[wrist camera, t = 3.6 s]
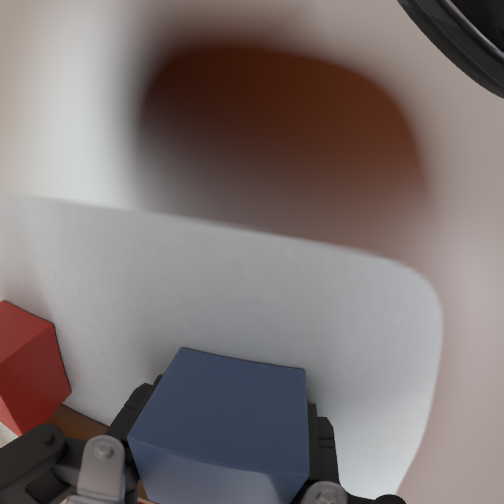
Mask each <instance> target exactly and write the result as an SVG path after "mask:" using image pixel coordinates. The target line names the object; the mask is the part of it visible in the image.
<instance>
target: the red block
mask: <svg viewBox="0 0 504 504" xmlns="http://www.w3.org/2000/svg"><path fill="white" fill-rule="evenodd" d="M70 394H71V389H70V386H69V383H68V380H67V377H66V374H65V370H64V367H63V363H62V359H61V356H60V352H59V348H58V344H57V339H56V335H55V330H54V326H53V324H52V323H50V322H47V321H45V320H43V319H41V318H39V317H37V316H34V315H32V314H30V313H28V312H26V311H24V310H22V309H20V308H18V307H16V306H14V305H12V304H10V303H9V302H7V301H5V300H3V301H1V302H0V421H1V422H2V423H3V424H4V425H5V426H7V427H8V428H9V429H10V430H11V431H13V432H14V433H15V434H16V435H18V436H19V437H20V436H21V435H23V434H24V433H26V432H28V431H29V430H31V429H32V428H34V427H36V426H37V425H39V424H43V423H45V422H46V421H47V420H48V418H49V417H50V416H51V415H52V414H53V413H54V412H55V411H56V409H57V408H58V407H59V406H60V405H61V404H62V403H63V402H64V401H65V399H66V398H67V397H68V396H69V395H70Z"/></svg>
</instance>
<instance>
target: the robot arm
mask: <svg viewBox="0 0 504 504" xmlns="http://www.w3.org/2000/svg"><path fill="white" fill-rule="evenodd" d="M437 2H438V3H439V4H440V5H441V6H442V7H443V9H444V10H445V11H446V12H447V13H448V14H449V15H450V16H451V18H452V19H453V20H454V21H455V22H456V23H457V24H458V25H459V26H460V27H461V28H462V29H463V30H464V31H465V32H466V33H467V34H468V35H469V36H470V37H471V38H472V39H473V40H474V41H475V42H476V43H477V44H478V45H480V46H481V47H482V48H483V49H484V50H485V51H486V52H488V53H489V54H490V55H491V56H492V57H494V58H495V59H496V60H497V61H499V62H500V63H502V64H503V65H504V0H437ZM163 376H164V375H159V376H158V377H157V379H156V381H155V382H154V384H153V385H150V384H147V383H144V384H143V385H141V386H139V387H138V388H136V389H135V390H134V391H133V393H132V394H131V396H130V397H129V400H127V402H126V403H125V405H124V407H123V408H122V409H121V411H120V412H119V414H118V415H117V417H116V418H115V419H114V421H113V422H112V424H111V425H110V427H109V428H108V430H107V431H106V433H105V434H104V435H98V436H95V437H93V438H91V439H90V440H81V439H76V438H71V437H67V436H64V434H63V432H62V430H61V429H60V428H59V427H57V426H56V425H53V424H49V423H43V424H39V425H37V426H36V427H34V428H32V429H31V430H29V431H28V432H26V433H24V434H23V435H21V436H20V437H18V438H17V439H15V440H13V441H12V442H10V443H8V444H7V445H5V446H4V447H2V448H0V504H60V503H61V502H62V501H63V500H65V499H66V498H67V500H66V504H137V500H138V484H137V483H138V481H139V479H140V476H139V473H138V470H137V467H136V464H135V461H134V458H133V455H132V452H131V449H130V446H129V443H128V439H127V436H128V434H129V432H130V431H131V429H132V427H133V426H134V424H135V422H136V421H137V419H138V417H139V416H140V414H141V412H142V411H143V409H144V407H145V406H146V404H147V402H148V401H149V399H150V397H151V396H152V394H153V392H154V391H155V389H156V387H157V386H158V384H159V382H160V381H161V379H162V377H163ZM307 413H308V438H309V476H308V478H307V479H306V481H305V482H304V484H303V486H302V487H301V489H300V490H299V492H298V493H297V494H296V496H295V497H294V499H293V500H292V502H291V503H290V504H406V503H405V501H404V500H403V499H402V498H400V497H399V496H396V495H391V494H387V495H382V496H380V497H378V498H376V499H375V500H372V499H366V498H361V497H357V496H353V495H351V494H349V493H348V492H346V491H345V490H344V488H343V487H342V486H341V484H340V482H339V474H338V465H337V455H336V449H335V440H334V430H333V426H332V425H331V423H330V422H329V420H328V419H327V417H317V410H316V404H314V403H307Z"/></svg>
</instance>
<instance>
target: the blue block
mask: <svg viewBox="0 0 504 504" xmlns="http://www.w3.org/2000/svg"><path fill="white" fill-rule="evenodd" d="M127 439H128V443H129V446H130V449H131V452H132V455H133V458H134V461H135V464H136V467H137V470H138V473H139V476H140V478H141V481H142V484H143V486H144V489H145V491H146V494H147V496H148V499H149V500H151V501H153V502H156V503H159V504H290V503H291V502H292V500H293V499H294V497H295V496H296V494H297V493H298V492H299V490H300V489H301V487H302V486H303V484H304V482H305V481H306V479H307V478H308V476H309V438H308V413H307V393H306V376H305V370H303V369H296V368H288V367H281V366H274V365H268V364H261V363H255V362H249V361H244V360H238V359H233V358H228V357H223V356H218V355H213V354H208V353H204V352H199V351H195V350H190V349H186V348H180V349H179V351H178V353H177V354H176V356H175V358H174V359H173V361H172V362H171V364H170V366H169V367H168V369H167V371H166V372H165V374H164V376H163V377H162V379H161V381H160V382H159V384H158V386H157V387H156V389H155V391H154V392H153V394H152V396H151V397H150V399H149V401H148V402H147V404H146V406H145V407H144V409H143V411H142V412H141V414H140V416H139V417H138V419H137V421H136V422H135V424H134V426H133V427H132V429H131V431H130V432H129V434H128V436H127Z"/></svg>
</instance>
